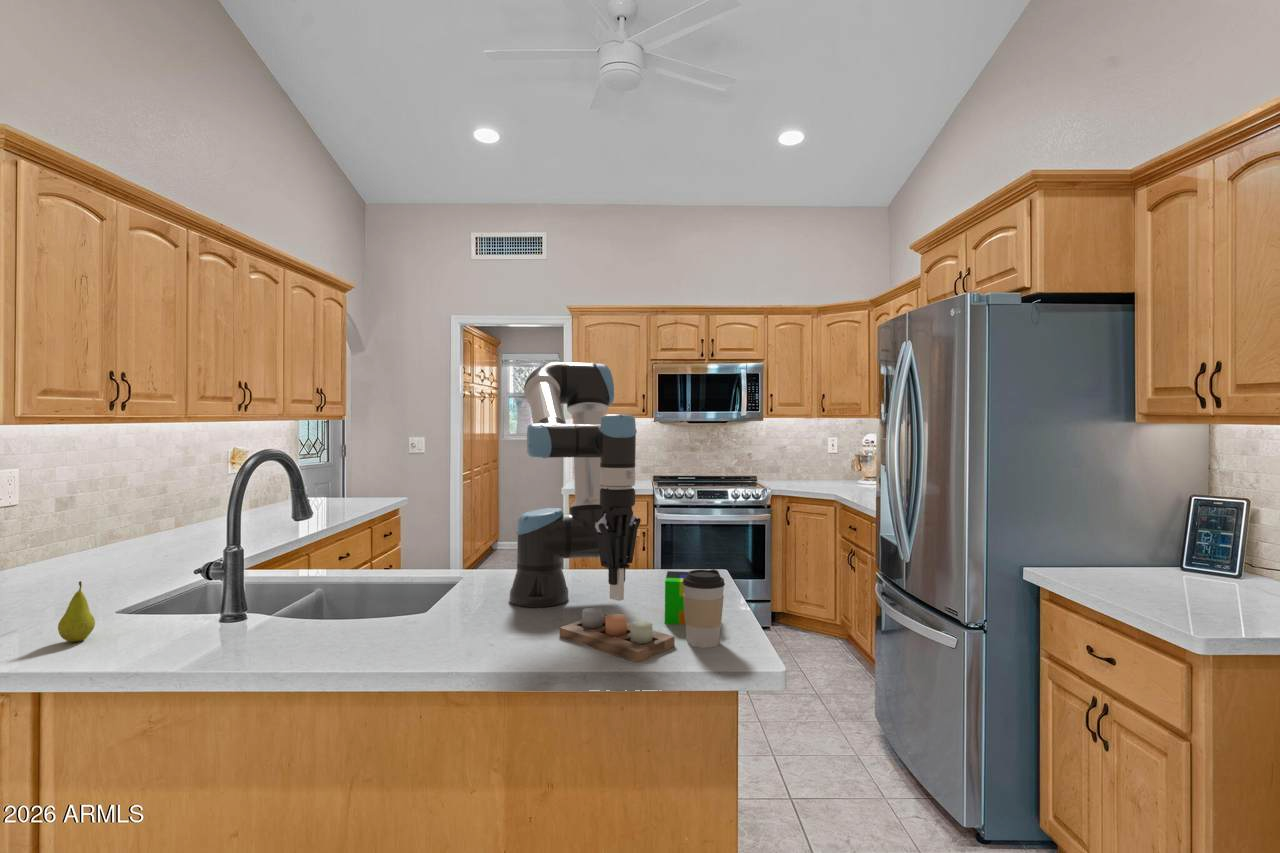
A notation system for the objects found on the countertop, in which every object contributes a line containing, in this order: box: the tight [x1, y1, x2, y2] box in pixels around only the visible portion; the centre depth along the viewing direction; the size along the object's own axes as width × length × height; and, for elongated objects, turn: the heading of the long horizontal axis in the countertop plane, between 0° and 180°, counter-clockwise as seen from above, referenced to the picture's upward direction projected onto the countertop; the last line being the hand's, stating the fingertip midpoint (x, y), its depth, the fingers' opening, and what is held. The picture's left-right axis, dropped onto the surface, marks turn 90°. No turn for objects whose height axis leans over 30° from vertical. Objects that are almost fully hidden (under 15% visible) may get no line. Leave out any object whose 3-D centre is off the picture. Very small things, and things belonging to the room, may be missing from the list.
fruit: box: [57, 580, 96, 643], centre depth 129 cm, size 6×6×12 cm
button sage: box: [630, 620, 654, 646], centre depth 129 cm, size 4×4×3 cm
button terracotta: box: [605, 613, 628, 638], centre depth 133 cm, size 4×4×3 cm
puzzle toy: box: [664, 570, 689, 626], centre depth 149 cm, size 10×10×10 cm
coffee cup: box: [682, 568, 726, 649], centre depth 133 cm, size 9×9×15 cm
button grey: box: [581, 607, 604, 630], centre depth 138 cm, size 4×4×3 cm
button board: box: [559, 615, 676, 663], centre depth 133 cm, size 22×12×2 cm, turn 50°
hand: (616, 598), depth 133 cm, fingers closed
